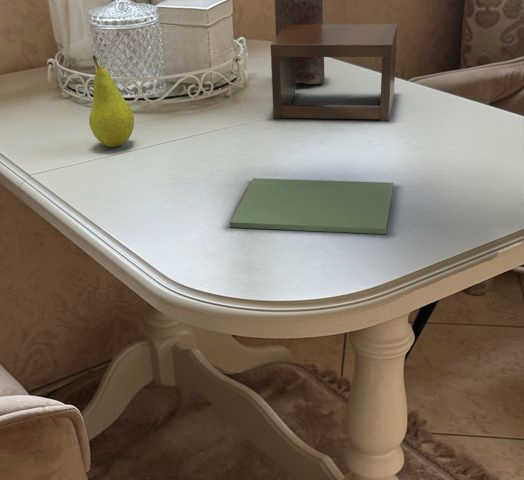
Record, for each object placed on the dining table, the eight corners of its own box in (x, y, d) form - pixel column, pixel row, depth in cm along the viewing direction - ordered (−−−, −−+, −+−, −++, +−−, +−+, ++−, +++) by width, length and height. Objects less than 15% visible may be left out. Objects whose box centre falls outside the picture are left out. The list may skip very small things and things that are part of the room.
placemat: (392, 187, 89) (393, 182, 88) (385, 234, 79) (385, 228, 79) (253, 182, 92) (253, 178, 91) (230, 227, 82) (229, 222, 82)
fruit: (133, 135, 107) (120, 43, 101) (140, 149, 103) (127, 54, 96) (91, 141, 106) (75, 48, 100) (96, 156, 102) (80, 59, 95)
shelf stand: (394, 95, 117) (397, 23, 112) (388, 121, 108) (391, 44, 102) (287, 93, 120) (285, 24, 115) (273, 119, 111) (270, 44, 105)
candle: (290, 92, 121) (286, -54, 110) (268, 81, 126) (262, -58, 115) (333, 83, 124) (333, -59, 112) (309, 73, 129) (307, -64, 118)
